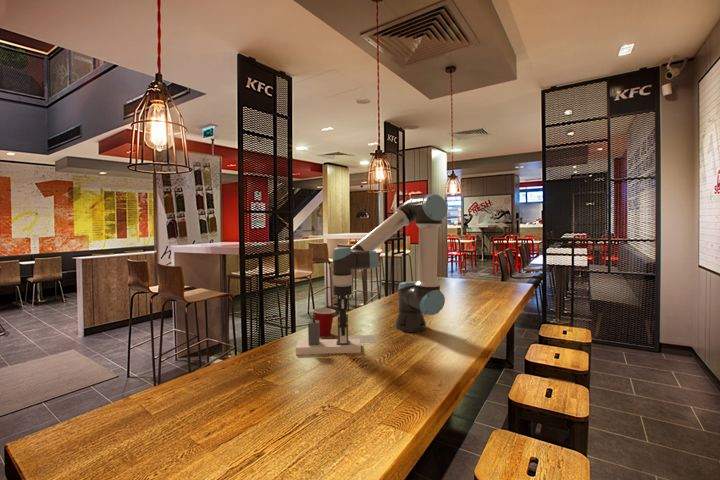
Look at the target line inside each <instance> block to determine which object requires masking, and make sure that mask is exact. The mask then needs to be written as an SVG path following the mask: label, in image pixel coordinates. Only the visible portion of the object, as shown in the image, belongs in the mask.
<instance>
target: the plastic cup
mask: <svg viewBox="0 0 720 480" xmlns="http://www.w3.org/2000/svg"><path fill="white" fill-rule="evenodd" d="M336 312H337V311H336V310H335V309H333V308H327V307H326V308H323V307H322V308H320V307H319V308H318V307H317V308H314V309H312V313H313V314H315V320H319V331H320V337H328V336H330V335H331V333H332V327H333V326H332V325H333V321H334V316H335V313H336Z"/></svg>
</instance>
